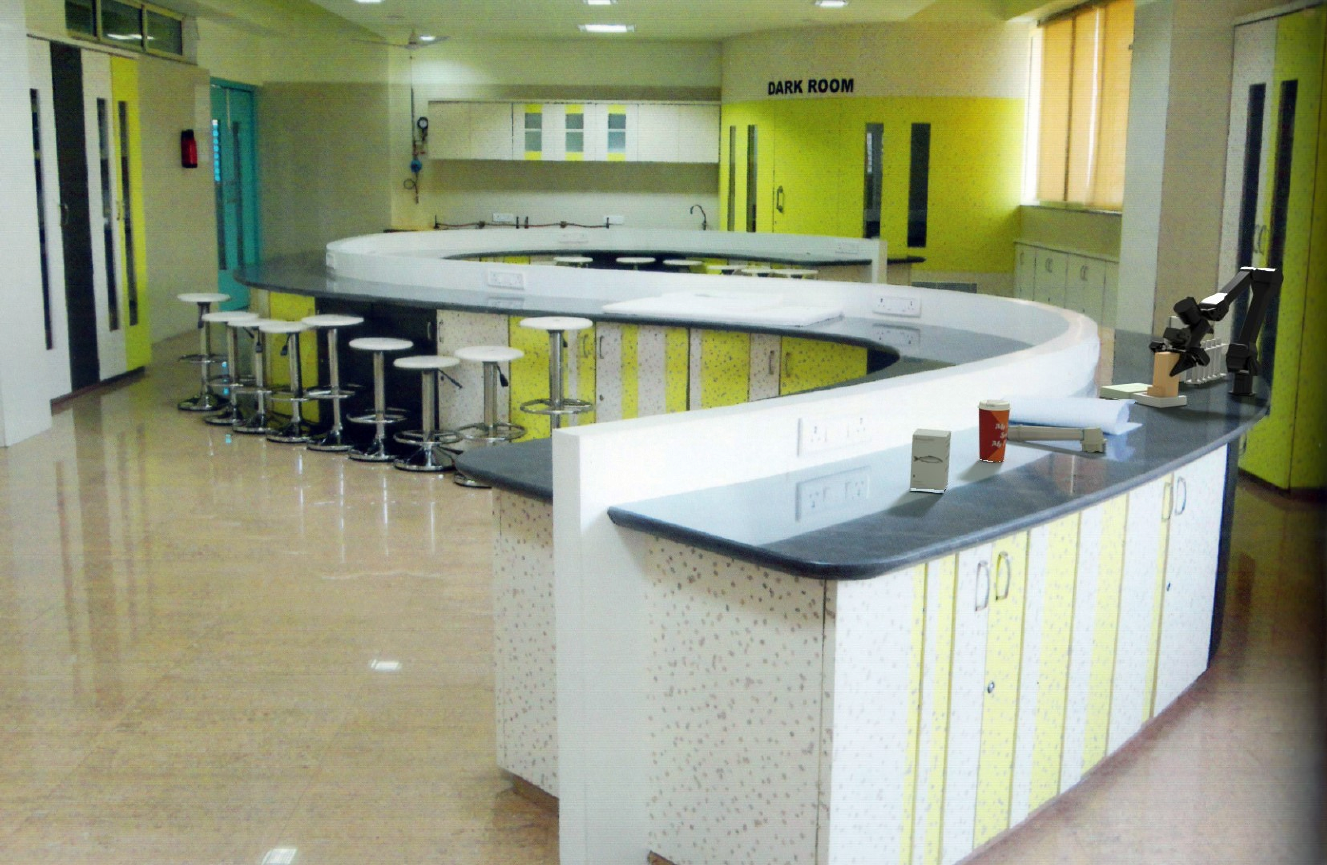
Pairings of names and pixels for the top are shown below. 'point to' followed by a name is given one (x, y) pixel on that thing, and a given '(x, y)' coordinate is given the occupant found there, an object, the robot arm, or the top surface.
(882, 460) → the top surface
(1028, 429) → the grey piece
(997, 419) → the paper cup
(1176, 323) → the paper towel roll
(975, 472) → the top surface
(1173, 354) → the tan footed upright block
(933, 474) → the supplement box
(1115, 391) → the cream stepped slab
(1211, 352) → the test tube rack
